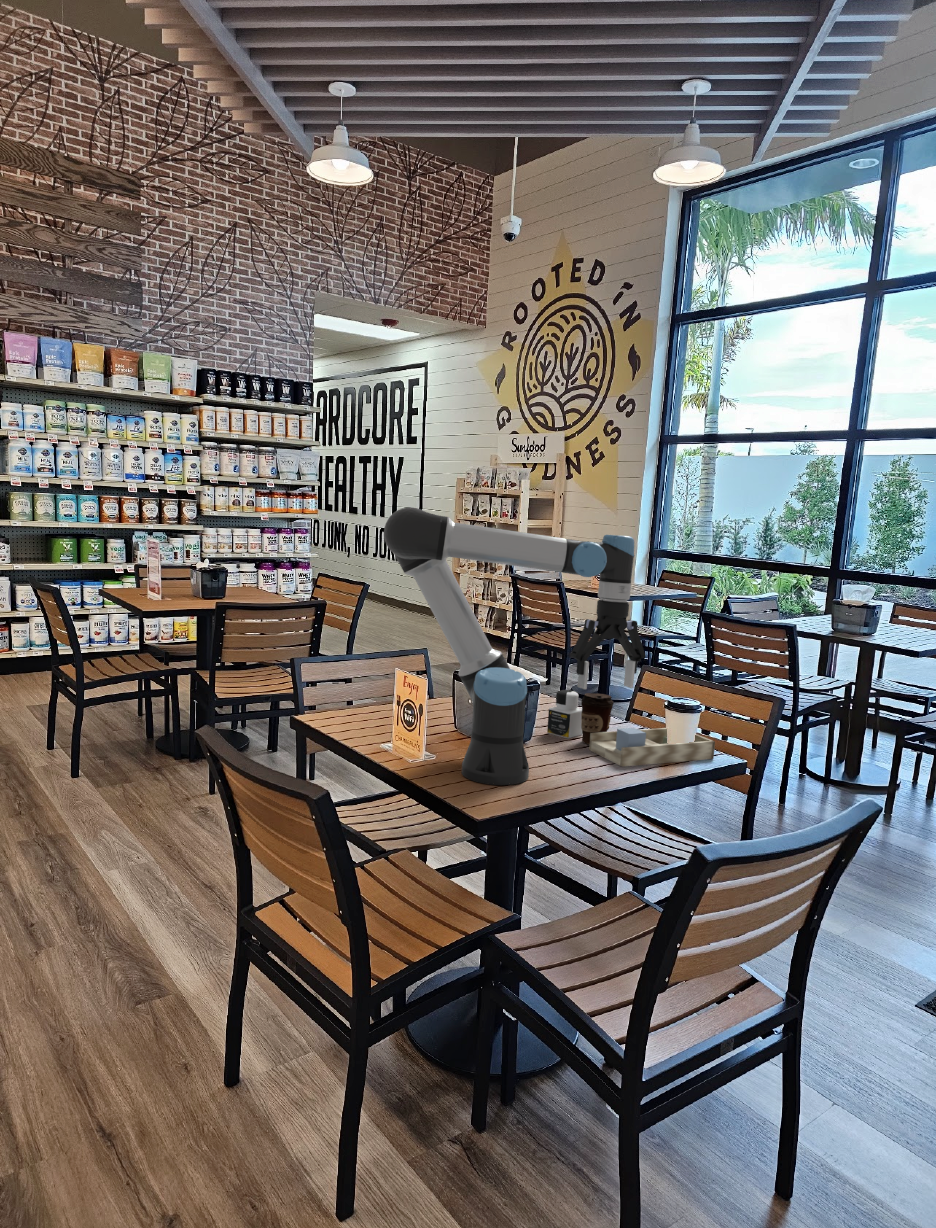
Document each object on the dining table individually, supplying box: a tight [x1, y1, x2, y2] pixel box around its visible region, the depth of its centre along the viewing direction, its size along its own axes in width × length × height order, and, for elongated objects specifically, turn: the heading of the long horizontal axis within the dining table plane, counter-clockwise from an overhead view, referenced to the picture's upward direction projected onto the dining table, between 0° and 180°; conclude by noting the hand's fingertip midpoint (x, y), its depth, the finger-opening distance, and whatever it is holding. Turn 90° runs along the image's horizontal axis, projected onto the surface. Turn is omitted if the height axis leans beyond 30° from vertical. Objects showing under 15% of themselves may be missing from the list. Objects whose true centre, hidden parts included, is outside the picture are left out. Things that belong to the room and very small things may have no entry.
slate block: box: [616, 727, 646, 751], centre depth 196 cm, size 5×5×5 cm
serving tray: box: [588, 727, 716, 768], centre depth 202 cm, size 28×14×4 cm, turn 114°
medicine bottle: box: [546, 689, 583, 739], centre depth 218 cm, size 7×7×12 cm
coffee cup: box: [581, 692, 614, 745], centre depth 210 cm, size 9×8×13 cm
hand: (605, 687), depth 191 cm, fingers open, 13 cm apart
